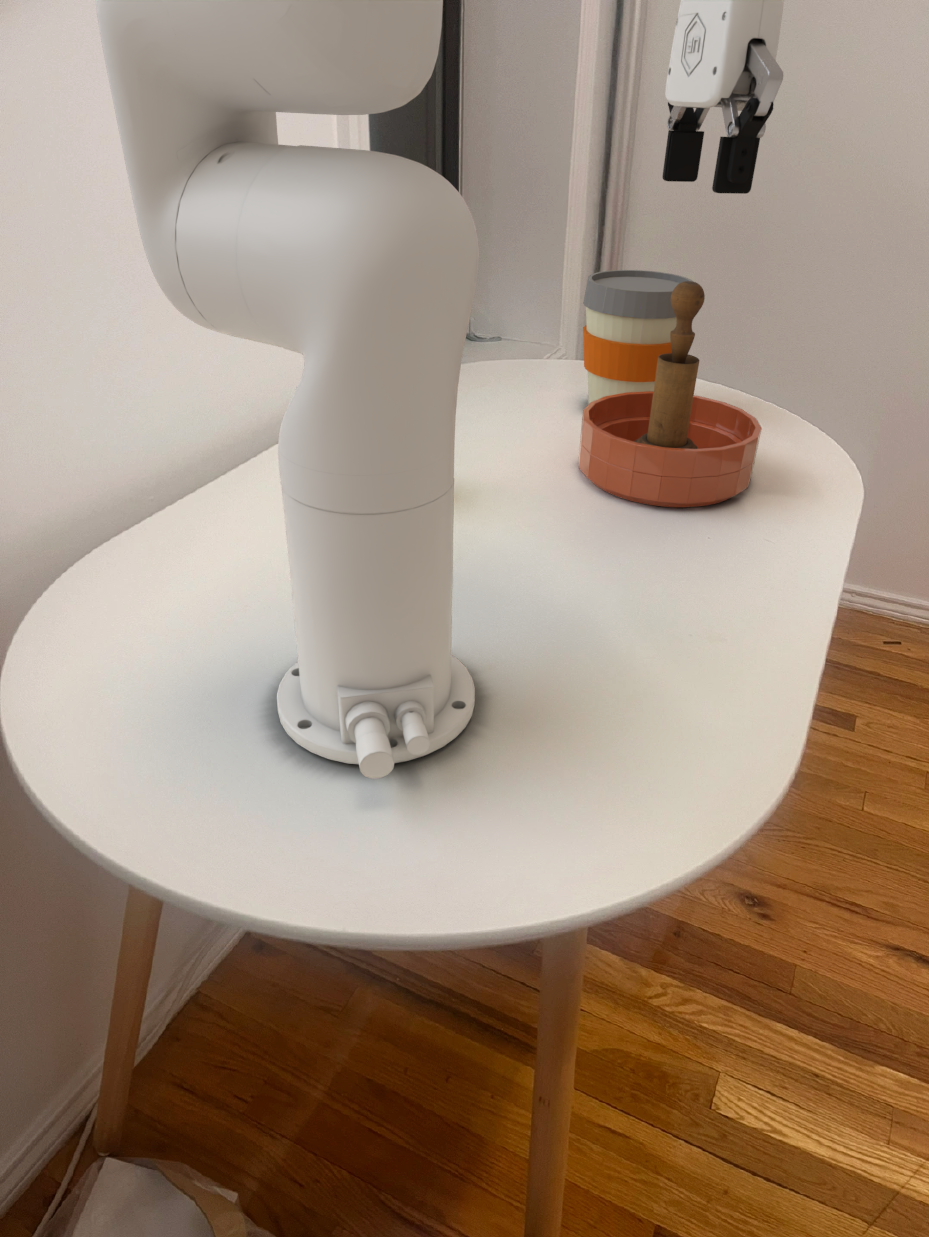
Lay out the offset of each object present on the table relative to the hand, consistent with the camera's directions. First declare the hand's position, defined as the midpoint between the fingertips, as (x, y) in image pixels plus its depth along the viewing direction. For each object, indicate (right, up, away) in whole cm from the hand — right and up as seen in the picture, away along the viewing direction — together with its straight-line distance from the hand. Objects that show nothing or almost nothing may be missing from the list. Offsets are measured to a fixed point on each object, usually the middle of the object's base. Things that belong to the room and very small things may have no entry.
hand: (703, 186), depth 76 cm
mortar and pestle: (0, -22, +14) cm, 26 cm away
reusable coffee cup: (-1, -12, +32) cm, 34 cm away
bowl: (0, -22, +14) cm, 27 cm away
